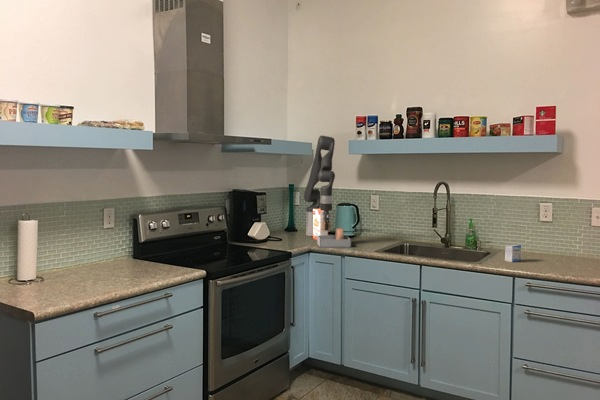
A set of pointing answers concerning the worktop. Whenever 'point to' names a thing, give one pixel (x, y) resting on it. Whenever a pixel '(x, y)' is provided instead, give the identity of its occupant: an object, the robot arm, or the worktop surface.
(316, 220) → the cracker box
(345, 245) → the tote
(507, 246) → the medicine box
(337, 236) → the spice jar
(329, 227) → the walnut block
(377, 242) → the worktop surface
